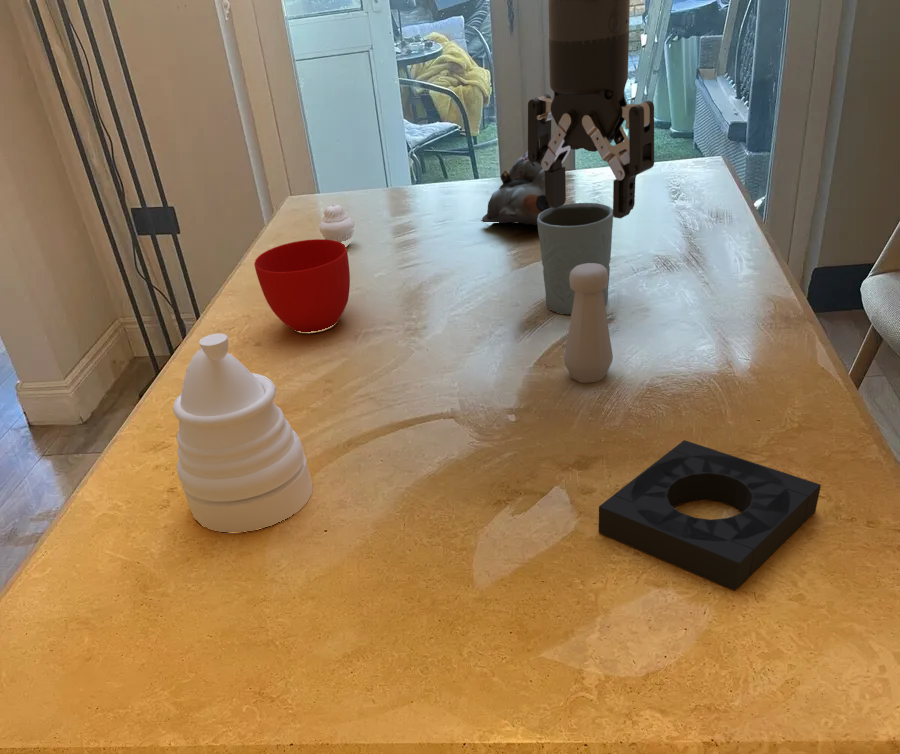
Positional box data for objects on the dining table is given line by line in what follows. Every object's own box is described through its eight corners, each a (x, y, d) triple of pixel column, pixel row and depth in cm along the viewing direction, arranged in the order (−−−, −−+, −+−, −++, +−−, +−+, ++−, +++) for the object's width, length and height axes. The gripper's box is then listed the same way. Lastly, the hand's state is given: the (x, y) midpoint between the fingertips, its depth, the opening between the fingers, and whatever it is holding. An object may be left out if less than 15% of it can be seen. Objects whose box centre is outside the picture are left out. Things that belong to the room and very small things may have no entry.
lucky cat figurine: (472, 223, 151) (490, 138, 147) (534, 240, 155) (553, 157, 151) (499, 218, 138) (519, 124, 133) (565, 237, 141) (587, 146, 137)
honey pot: (337, 490, 89) (298, 324, 77) (235, 549, 83) (176, 379, 71) (267, 452, 96) (223, 297, 85) (169, 504, 90) (107, 344, 79)
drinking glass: (573, 323, 114) (572, 231, 107) (525, 304, 121) (520, 216, 113) (627, 300, 118) (630, 209, 111) (577, 283, 125) (577, 196, 117)
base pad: (682, 465, 85) (684, 439, 84) (815, 512, 77) (821, 484, 75) (598, 532, 78) (598, 506, 77) (735, 591, 70) (739, 563, 68)
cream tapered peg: (559, 385, 101) (556, 276, 93) (568, 363, 105) (567, 257, 97) (608, 387, 100) (610, 276, 91) (616, 365, 104) (618, 257, 95)
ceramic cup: (387, 299, 128) (376, 231, 122) (330, 347, 117) (315, 275, 110) (315, 294, 133) (301, 228, 126) (254, 339, 122) (235, 270, 115)
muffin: (326, 242, 152) (318, 201, 148) (359, 238, 152) (352, 197, 147) (320, 254, 148) (312, 211, 143) (355, 250, 147) (347, 208, 142)
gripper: (676, 23, 78) (665, 209, 88) (554, 22, 86) (557, 193, 96) (628, 38, 74) (623, 231, 84) (505, 36, 82) (514, 212, 93)
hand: (588, 210), depth 90 cm, fingers open, 8 cm apart
